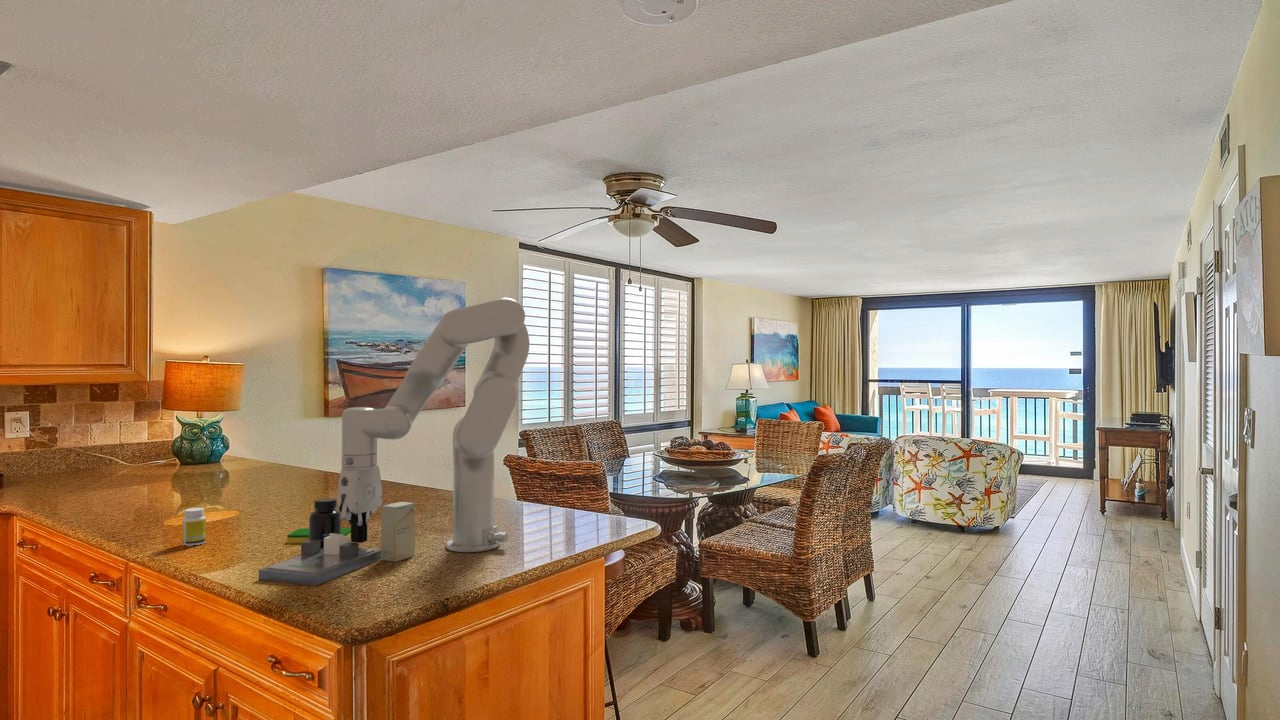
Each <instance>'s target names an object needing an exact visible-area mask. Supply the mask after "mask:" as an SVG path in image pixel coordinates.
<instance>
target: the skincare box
mask: <svg viewBox="0 0 1280 720" xmlns="http://www.w3.org/2000/svg"><path fill="white" fill-rule="evenodd" d="M415 507H416V504H415V502H408V501H398V502H393V503H388V504H385V505H381V536H380V538H381V541H380V543H381V544H380V545H381V546H380V548H381V549H380V550H381V559H380V560H381V561H387V562H393V563H394V562H398V561H402V560H405V559H409V558H412V557H415V541H416V540H415V532H416V531H415V529H416V526H415V524H416V523H415V519H416V518H415V515H416V514H415V513H416V512H415V509H416V508H415Z"/></svg>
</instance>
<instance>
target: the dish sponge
mask: <svg viewBox="0 0 1280 720" xmlns="http://www.w3.org/2000/svg"><path fill="white" fill-rule="evenodd" d="M341 534H343V536H349V540H351V527H341ZM307 540H309V527H308V528H307V527H306V528H297V529H296V530H294V531H291V532H290V533H289V534H287V535H286V543H287V544H301V542H303V541H307Z"/></svg>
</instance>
